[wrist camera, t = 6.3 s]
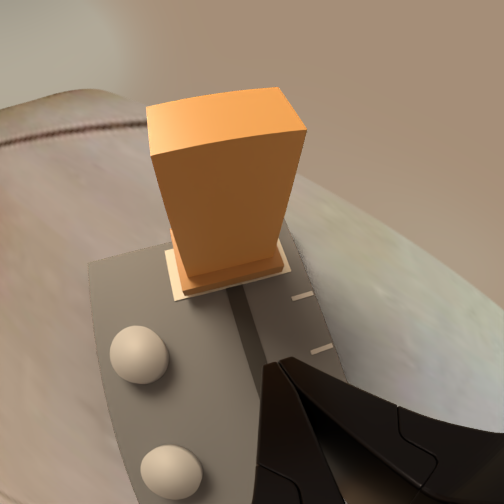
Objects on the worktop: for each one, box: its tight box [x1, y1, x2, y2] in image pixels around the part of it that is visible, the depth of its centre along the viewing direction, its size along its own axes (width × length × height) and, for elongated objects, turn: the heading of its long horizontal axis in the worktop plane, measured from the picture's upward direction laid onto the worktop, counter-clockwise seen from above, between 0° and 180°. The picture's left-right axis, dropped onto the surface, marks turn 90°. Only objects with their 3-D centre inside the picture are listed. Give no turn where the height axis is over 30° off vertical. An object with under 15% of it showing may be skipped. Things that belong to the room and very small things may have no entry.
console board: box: [88, 219, 347, 504], centre depth 14 cm, size 16×12×2 cm
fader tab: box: [146, 87, 307, 296], centre depth 12 cm, size 4×5×9 cm
